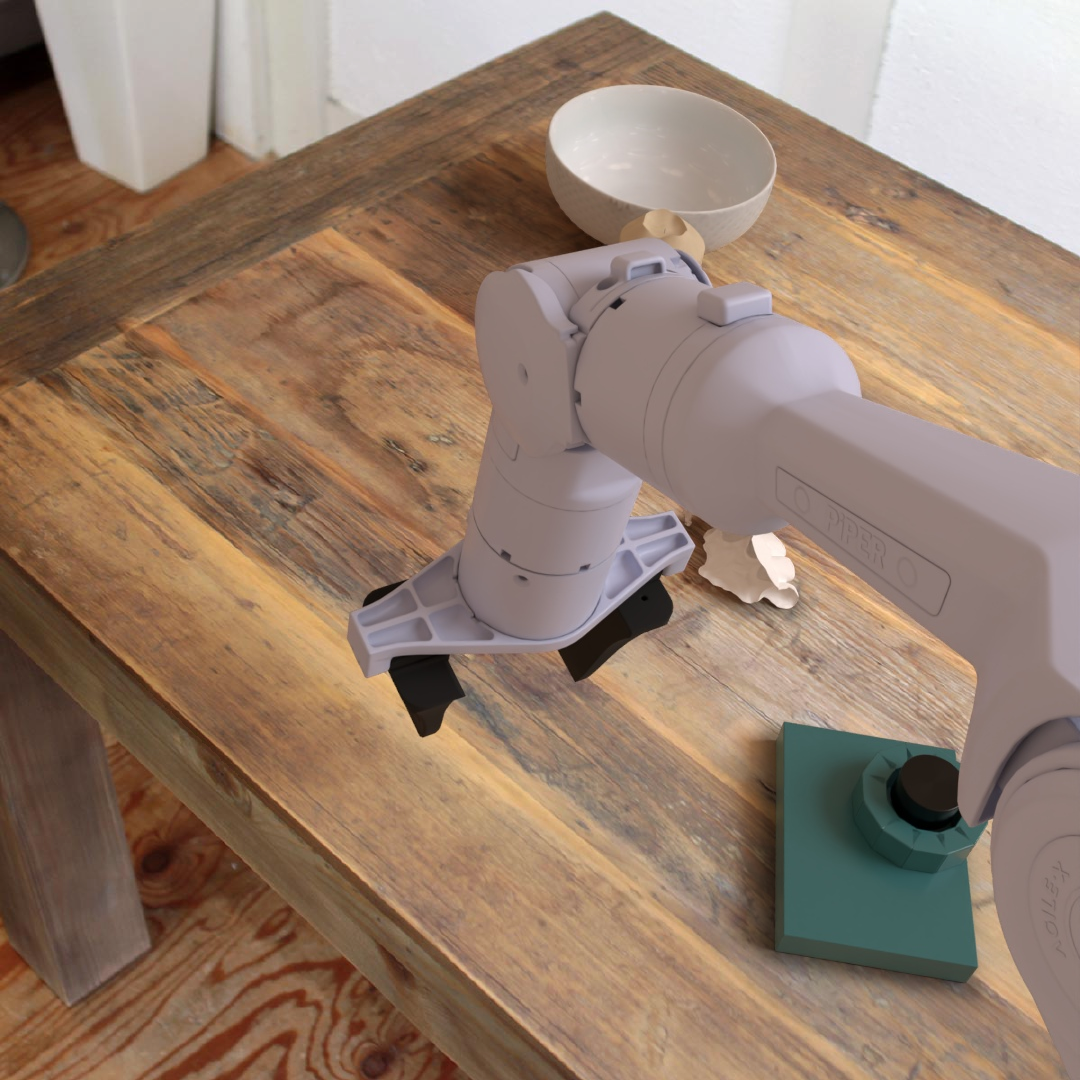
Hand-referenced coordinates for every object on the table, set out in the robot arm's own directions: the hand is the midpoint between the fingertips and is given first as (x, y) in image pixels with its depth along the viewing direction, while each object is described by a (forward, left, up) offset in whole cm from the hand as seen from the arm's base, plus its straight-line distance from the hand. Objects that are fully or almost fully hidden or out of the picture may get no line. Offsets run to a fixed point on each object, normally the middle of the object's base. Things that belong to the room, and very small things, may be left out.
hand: (497, 689), depth 60 cm
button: (+2, -21, -5) cm, 22 cm away
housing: (0, -19, -9) cm, 21 cm away
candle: (+37, -5, -9) cm, 38 cm away
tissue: (+18, -12, -9) cm, 23 cm away
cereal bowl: (+52, -5, -9) cm, 53 cm away
